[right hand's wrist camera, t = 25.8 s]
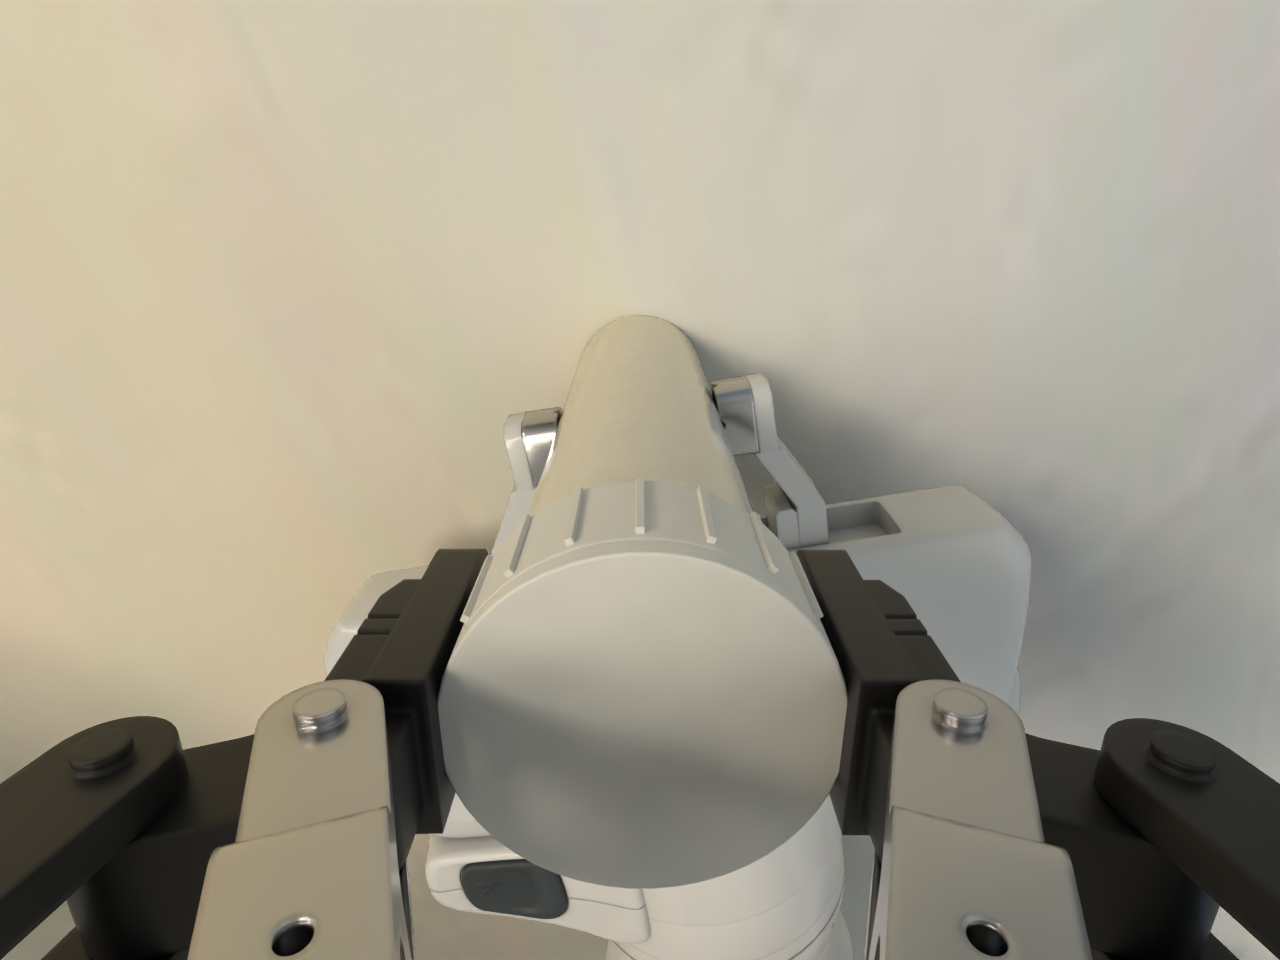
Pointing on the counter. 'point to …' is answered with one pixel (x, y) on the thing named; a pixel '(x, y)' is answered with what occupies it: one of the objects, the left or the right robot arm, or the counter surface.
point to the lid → (642, 689)
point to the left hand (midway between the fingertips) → (633, 398)
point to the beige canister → (640, 418)
